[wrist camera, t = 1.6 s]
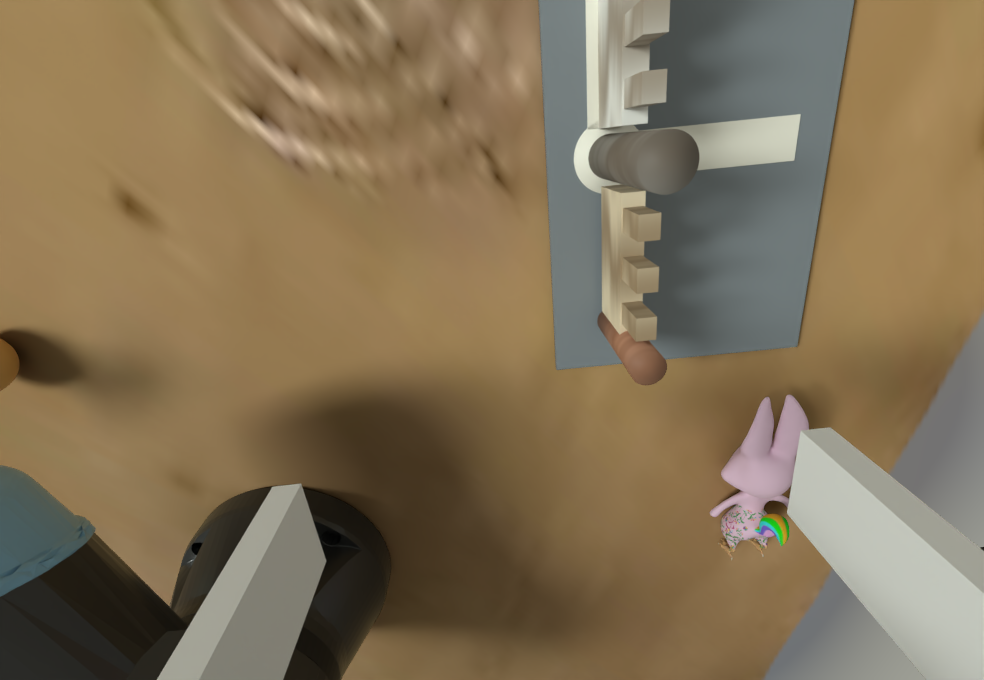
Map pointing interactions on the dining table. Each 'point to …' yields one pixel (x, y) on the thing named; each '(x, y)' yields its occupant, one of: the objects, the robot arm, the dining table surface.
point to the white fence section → (636, 102)
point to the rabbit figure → (761, 477)
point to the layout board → (700, 171)
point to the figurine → (7, 364)
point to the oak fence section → (629, 281)
